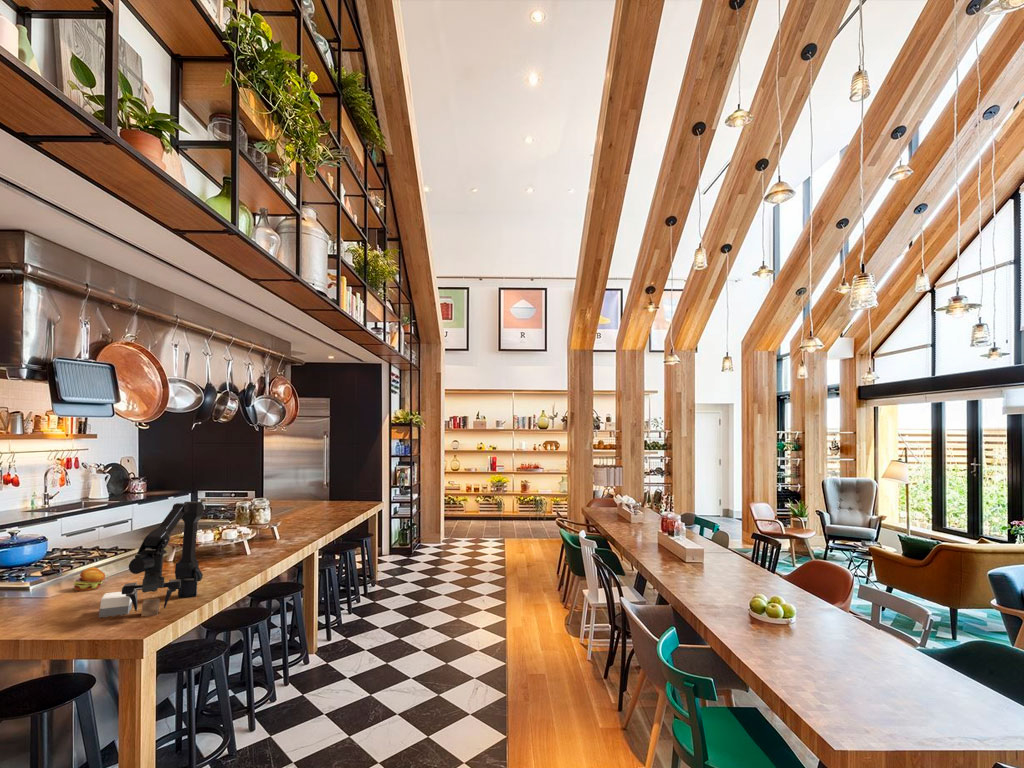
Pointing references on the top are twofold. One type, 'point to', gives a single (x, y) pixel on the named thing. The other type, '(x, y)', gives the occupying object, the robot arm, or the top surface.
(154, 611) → the walnut block
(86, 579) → the cheeseburger
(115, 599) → the tower top slab
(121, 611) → the tower base slab
